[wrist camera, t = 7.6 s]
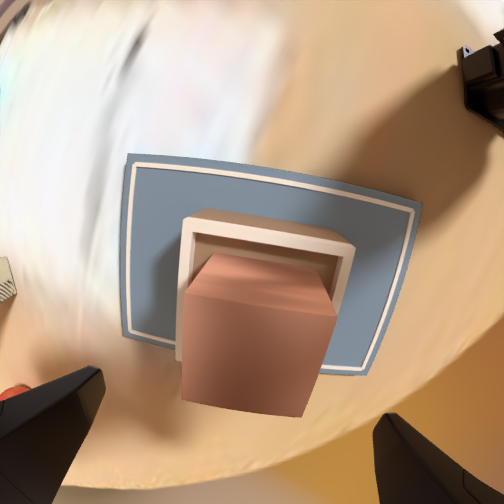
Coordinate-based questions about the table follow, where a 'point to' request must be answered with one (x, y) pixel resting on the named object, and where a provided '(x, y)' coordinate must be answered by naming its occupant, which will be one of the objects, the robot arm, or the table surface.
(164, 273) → the blueprint board
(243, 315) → the terracotta block
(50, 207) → the table surface
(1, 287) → the box
